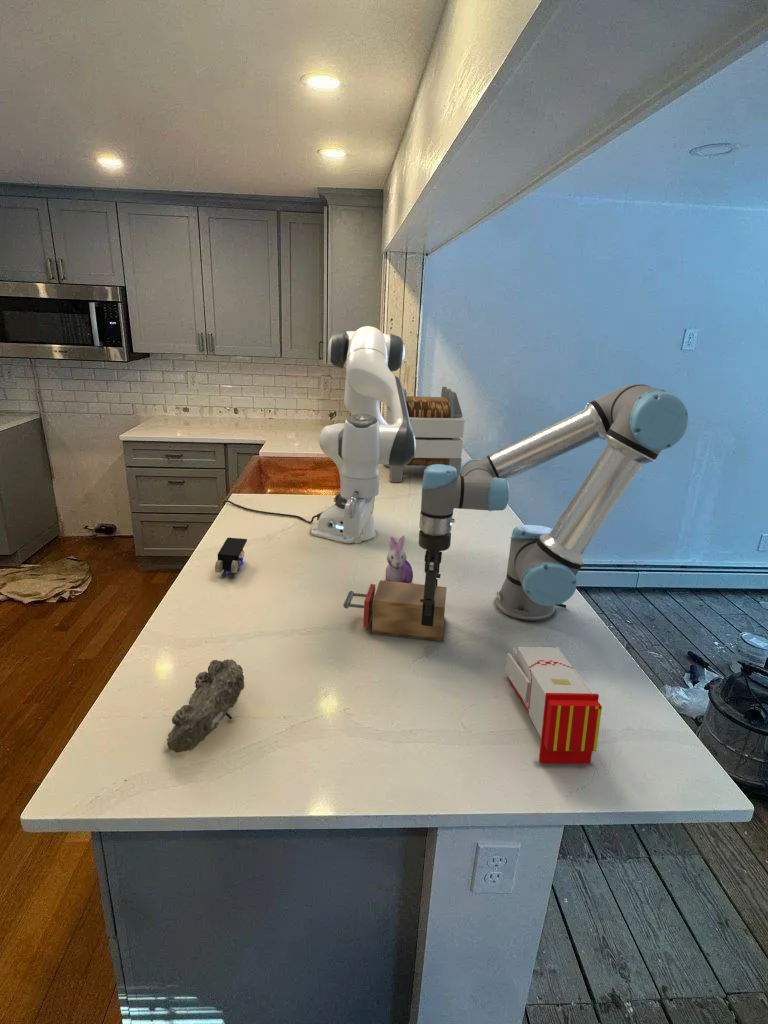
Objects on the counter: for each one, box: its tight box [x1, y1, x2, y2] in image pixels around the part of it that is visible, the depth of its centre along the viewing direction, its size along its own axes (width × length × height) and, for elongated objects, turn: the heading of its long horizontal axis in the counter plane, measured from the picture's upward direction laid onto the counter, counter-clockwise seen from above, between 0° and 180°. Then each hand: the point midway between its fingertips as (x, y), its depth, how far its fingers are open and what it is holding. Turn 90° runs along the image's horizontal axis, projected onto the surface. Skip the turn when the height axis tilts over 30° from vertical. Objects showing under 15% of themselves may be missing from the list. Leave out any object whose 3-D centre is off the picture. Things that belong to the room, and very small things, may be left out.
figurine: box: [384, 535, 414, 584], centre depth 160 cm, size 9×10×15 cm
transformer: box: [383, 386, 465, 483], centre depth 268 cm, size 34×33×41 cm
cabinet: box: [371, 579, 448, 642], centre depth 141 cm, size 17×11×9 cm, turn 82°
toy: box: [504, 646, 603, 765], centre depth 112 cm, size 12×13×30 cm
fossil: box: [166, 658, 245, 754], centre depth 106 cm, size 22×10×15 cm
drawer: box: [342, 583, 376, 629], centre depth 142 cm, size 21×10×7 cm, turn 82°
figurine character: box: [214, 537, 248, 578], centre depth 166 cm, size 7×8×15 cm
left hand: (358, 540), depth 137 cm, fingers closed
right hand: (428, 613), depth 140 cm, fingers closed on cabinet, 11 cm apart
